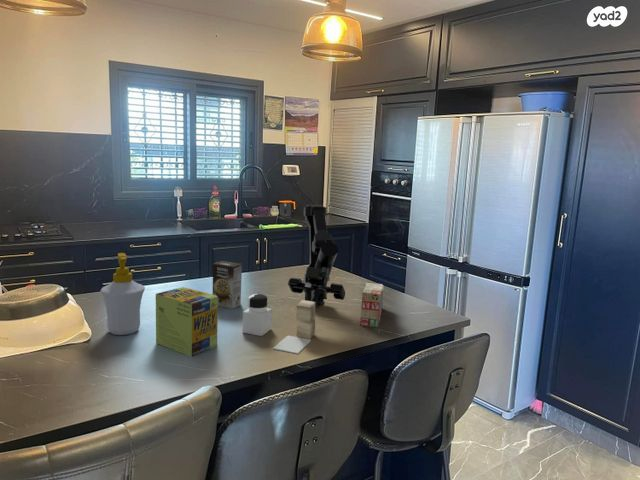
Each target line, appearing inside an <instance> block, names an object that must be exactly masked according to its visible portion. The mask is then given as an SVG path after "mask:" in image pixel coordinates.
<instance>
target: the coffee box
mask: <svg viewBox="0 0 640 480" xmlns="http://www.w3.org/2000/svg"><path fill="white" fill-rule="evenodd" d="M242 271H243V264H242V263H238V262H231V261H226V260H220V261H216V262H214V263H212V295H216V296H218V307H222V308H226V309H231V310H233V309H235V308H237V307H239V306H241V305H242V278H243V277H242V276H243V275H242V274H243V273H242Z"/></svg>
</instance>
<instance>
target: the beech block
mask: <svg viewBox="0 0 640 480" xmlns="http://www.w3.org/2000/svg"><path fill="white" fill-rule="evenodd" d="M315 334H316V307H315V302H312V301H306V300H305V299H301V301H299V302H298V303H297V304H296V337H299V338H304V339H310V340H312V338H313V337H314V335H315Z"/></svg>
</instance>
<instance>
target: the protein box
mask: <svg viewBox="0 0 640 480" xmlns="http://www.w3.org/2000/svg"><path fill="white" fill-rule="evenodd" d="M218 307H219V306H218V296H216V295H213V293H212V294H211V293H208V292H204V291H200V290H195V289H193V288H188V287H185V286H181V287H178V288H174V289H169V290H166V291H161V292H157V293H156V294H155V344H157V345H160V346H163V347H165V348H168V349H171V350H172V351H176V352H177V353H181V354H184V355H186V356H188V357H194V356H196V355H198V354H201V353H203V352H205V351H207V350H210V349H212V348H215V347H217V346H218V319H219V317H218V309H219V308H218Z"/></svg>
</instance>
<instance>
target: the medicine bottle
mask: <svg viewBox="0 0 640 480" xmlns="http://www.w3.org/2000/svg"><path fill="white" fill-rule="evenodd" d="M247 300H248V302H247V303H248V304H247V305H248V306H247V309H245V310H243V312H242V333H244V334H250V335H254V336H259V337H260V336H261V337H263V336H264V335H265V334H267V333H268V332H269V331H270V330H272V318H273V317H272V316H273V309H272V308H271V307H270V308H268V297H267V295H265V294H263V293H262V294H261V293H254V294H250V295H249V296H248V299H247Z"/></svg>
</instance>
